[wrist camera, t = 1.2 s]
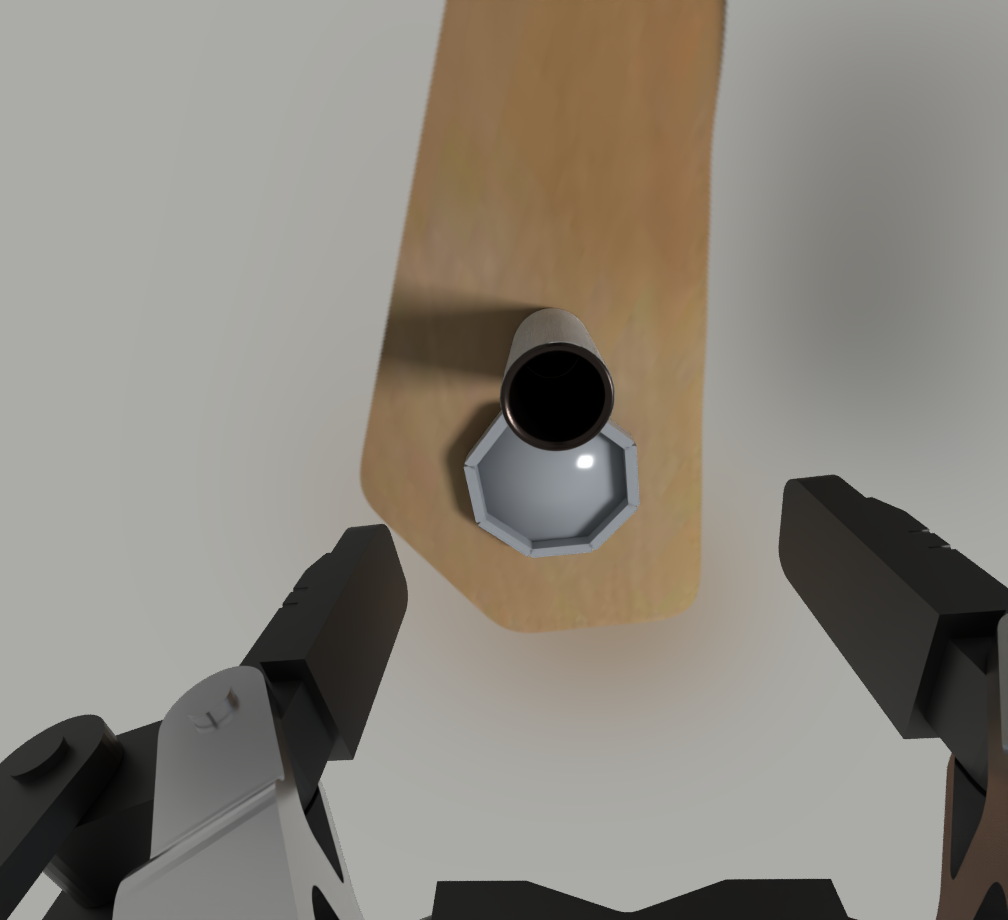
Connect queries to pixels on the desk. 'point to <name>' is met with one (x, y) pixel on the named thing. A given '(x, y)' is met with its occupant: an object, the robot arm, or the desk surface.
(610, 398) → the planter
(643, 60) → the desk surface
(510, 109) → the desk surface
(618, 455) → the saucer
